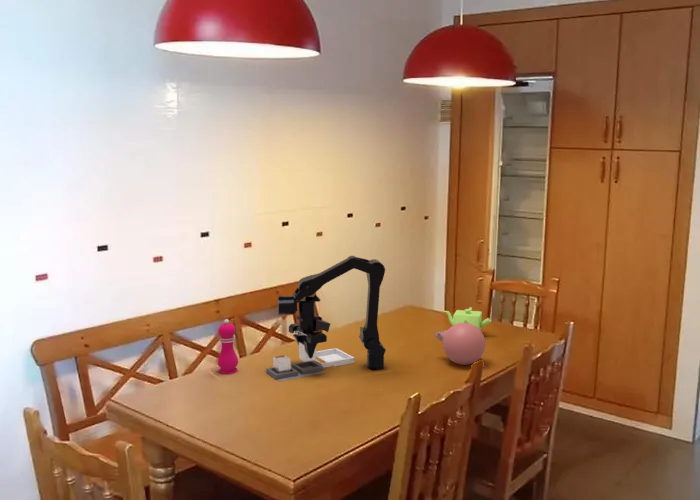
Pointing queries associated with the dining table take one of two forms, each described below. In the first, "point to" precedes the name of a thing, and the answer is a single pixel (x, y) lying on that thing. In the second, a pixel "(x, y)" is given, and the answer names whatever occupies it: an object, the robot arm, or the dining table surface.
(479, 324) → the kettle
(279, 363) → the block
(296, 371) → the plate
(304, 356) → the billet loose
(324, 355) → the white square tray
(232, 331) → the pepper mill
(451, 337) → the balloon
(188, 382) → the dining table surface
